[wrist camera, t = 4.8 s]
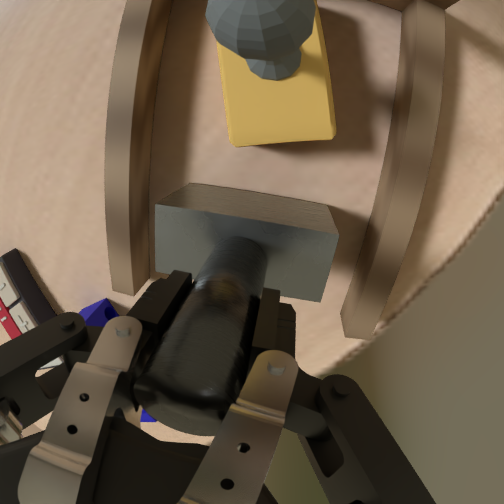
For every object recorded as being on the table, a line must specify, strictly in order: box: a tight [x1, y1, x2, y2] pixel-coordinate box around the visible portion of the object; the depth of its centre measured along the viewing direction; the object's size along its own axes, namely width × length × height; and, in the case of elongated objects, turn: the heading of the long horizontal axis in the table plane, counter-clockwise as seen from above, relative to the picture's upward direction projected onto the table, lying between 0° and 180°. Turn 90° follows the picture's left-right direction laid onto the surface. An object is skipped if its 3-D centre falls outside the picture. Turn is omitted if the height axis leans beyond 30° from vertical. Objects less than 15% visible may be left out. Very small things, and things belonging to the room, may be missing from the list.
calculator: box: [0, 248, 64, 370], centre depth 27 cm, size 11×4×15 cm
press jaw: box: [134, 183, 339, 436], centre depth 13 cm, size 4×9×14 cm, turn 82°
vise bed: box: [105, 0, 459, 340], centre depth 14 cm, size 26×20×8 cm
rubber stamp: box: [205, 0, 336, 147], centre depth 10 cm, size 10×6×12 cm, turn 7°
